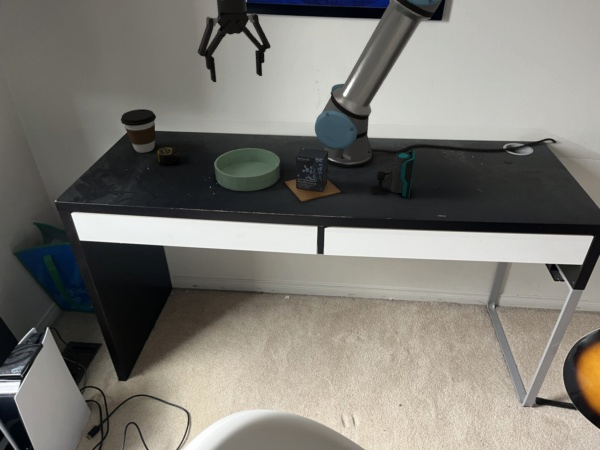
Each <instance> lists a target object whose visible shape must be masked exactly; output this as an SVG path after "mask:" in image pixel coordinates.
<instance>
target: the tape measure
mask: <svg viewBox="0 0 600 450" xmlns="http://www.w3.org/2000/svg"><path fill="white" fill-rule="evenodd" d="M178 150H179V149H178V148H177V147H176V146H171V147H162V148H159V149H158V150H157V151H156V154H155V155H156V161H158V163H159V164H162V165H171V164H175V163H178V162H180V160H181V158H180V154H179V151H178Z"/></svg>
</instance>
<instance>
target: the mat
mask: <svg viewBox="0 0 600 450" xmlns="http://www.w3.org/2000/svg"><path fill="white" fill-rule="evenodd" d="M284 184H285V185H286V186H287V187H288V188H289V189H290V191H291V192H292V193H293V194H294V195H295V196H296V197H297V199H299V201H300V202H301V203H303V202H307V201H312V200H315V199H320V198H325V197H327V196H328V197H329V196H331V195H337V194H339V193H341V190H340V189H339V188H338V187H336V185H335V184H333V183H332V182H331V181H330V180H329V179H328V178H327V184H326V186H325V188H324V190H323V192H317V191H311V190H305V189H297V188H296V178H295V179H291V180H286V181H284Z"/></svg>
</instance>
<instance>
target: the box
mask: <svg viewBox="0 0 600 450" xmlns="http://www.w3.org/2000/svg"><path fill="white" fill-rule="evenodd" d="M328 168H329V162H328V151H326V150H325V151H324V149H315V148H307V147H302V146H301V148H300V149H299V150H298V151H297V153H296V155H295V179H296V188H297V189H305V190H311V191H317V192H323V190H324V188H325V186H326V184H327V179H328V173H329V172H328V171H329V169H328Z"/></svg>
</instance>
